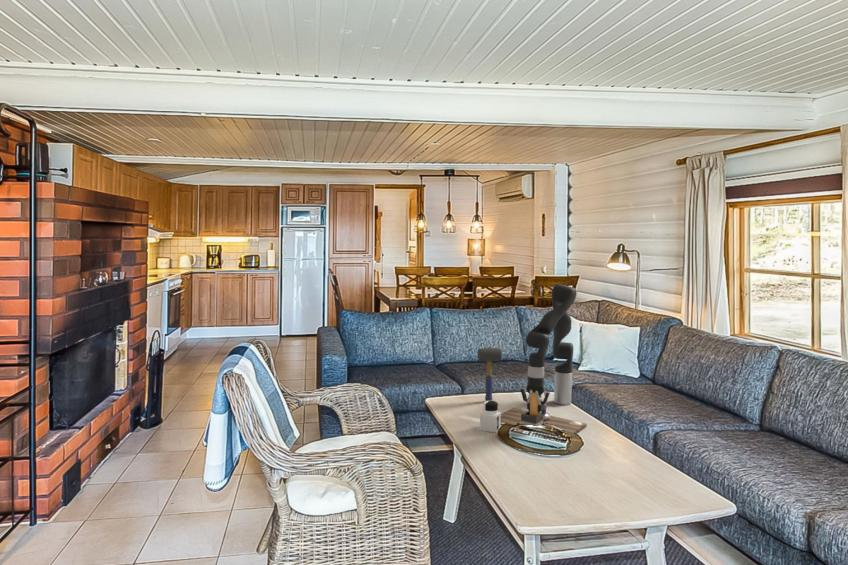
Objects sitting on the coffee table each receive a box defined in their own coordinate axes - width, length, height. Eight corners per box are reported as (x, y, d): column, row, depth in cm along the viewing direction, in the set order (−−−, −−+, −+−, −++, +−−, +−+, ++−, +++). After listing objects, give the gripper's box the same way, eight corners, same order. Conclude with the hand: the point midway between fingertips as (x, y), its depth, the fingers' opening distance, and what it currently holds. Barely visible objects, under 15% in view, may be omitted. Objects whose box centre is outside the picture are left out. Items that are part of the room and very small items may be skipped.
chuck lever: (538, 415, 265) (539, 401, 265) (553, 418, 261) (553, 404, 260) (520, 425, 250) (521, 410, 250) (535, 428, 246) (536, 413, 245)
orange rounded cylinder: (535, 417, 253) (536, 390, 252) (539, 420, 249) (540, 393, 248) (527, 418, 252) (529, 390, 251) (531, 420, 248) (533, 393, 247)
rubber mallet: (497, 399, 298) (499, 346, 296) (501, 403, 290) (502, 348, 288) (476, 400, 296) (476, 346, 294) (479, 404, 289) (480, 349, 287)
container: (500, 427, 252) (501, 400, 251) (495, 432, 245) (496, 405, 244) (484, 425, 255) (485, 398, 254) (479, 430, 248) (480, 402, 247)
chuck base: (513, 410, 278) (513, 407, 278) (586, 426, 255) (586, 423, 254) (489, 422, 259) (489, 418, 259) (566, 441, 236) (566, 437, 236)
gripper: (518, 374, 249) (517, 411, 250) (549, 379, 242) (547, 416, 244) (523, 371, 255) (521, 406, 257) (553, 375, 249) (551, 411, 250)
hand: (534, 411), depth 250 cm, fingers closed on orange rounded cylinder, 4 cm apart
